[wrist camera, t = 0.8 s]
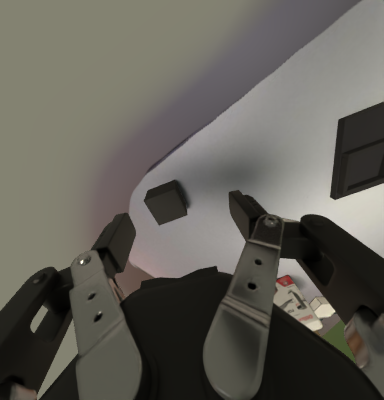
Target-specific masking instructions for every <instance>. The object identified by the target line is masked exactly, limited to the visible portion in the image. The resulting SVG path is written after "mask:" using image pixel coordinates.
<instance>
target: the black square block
mask: <svg viewBox="0 0 384 400" xmlns="http://www.w3.org/2000/svg"><path fill="white" fill-rule="evenodd" d="M144 202H145V204H146V205H147V207H148V209H149V210H150V212H151V213H152V215H153V217H154V218H155V220H156V221H157V223H158V224H159V225H162V224H164V223H167V222H170V221H173V220H175V219H178V218H181V217H183V216H186V215H187V207H186V202H185V200H184V198H183V196H182V194H181V192H180V190H179V188H178V185H177V183H176V181H175V180H173V181H171V182H168V183H166V184H163V185H161V186H158V187H156V188H153V189H151V190H148V191H147V194H146V196H145V199H144Z"/></svg>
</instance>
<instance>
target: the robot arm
mask: <svg viewBox="0 0 384 400" xmlns="http://www.w3.org/2000/svg"><path fill="white" fill-rule="evenodd" d="M229 208H230V214H231V216H232V218H233V220H234V222H235V223H236V225H237V227H238V229H239V230H240V232H241V234H242V236H243V237H244V239H245V241H246V244H245V246H244V249H243V251H242V254H241V257H240V259H239V262H238V264H237V267H236V270H235V272H234V275H232V274H228V273H224V272H218V270H217V266H214V267H209V268H204V269H199V270H196V271H194V272H192V273H190V274H188V275H185V276H183V277H181V278H161V277H160V278H155V279H150V280H145V281H142V282H141V287H140V289H138V290H136V291H135V292H133V293H131V294H130V295H129V296H128V297H126V298H125V296H124V294H123V292H122V290H121V288H120V286H119V284H118V282H117V280H116V279H115V274H116V273H121V272H123V271H124V268H125V265H126V262H127V259H128V257H129V254H130V251H131V248H132V245H133V242H134V239H135V236H136V230H135V227H134V225H133V223H132V221H131V219H130V217H129V215H128V213H123V214H118V215H116V216H115V217H114V219H113V221H112V222H110V223H109V224H108V225H107V226H106V227H105V228H104V230H103V232H102V233H101V234H100V236H99V238H98V239H97V241H96V242H95V244H94V245H93V247H92V248H91V250H89V251H86V252H84V253H82V254H81V255H79V256H78V257H77V258H76V259H75V260H74V261H73V262H72V264H71V266H70V267H68V268H66V269H63V270H61V271H59V272H58V271H57V270H56V269H55V268H54V267H47V268H44V269H42V270H40V271H38V272H37V273H35V274H34V275H32V276H31V277H30V278H29V279H28V280H27V281H26V282H25V284H23V285H22V287H21V288H20V289H19V290H18V291H17V292H16V294H15V295H14V296H13V297H12V298H11V300H10V301H9V302H8V303H7V304H6V305H5V307H4V308H3V309H2V310H1V311H0V400H37V394H38V392H39V389H40V387H41V385H42V383H43V381H44V379H45V377H46V374H47V372H48V370H49V368H50V366H51V364H52V362H53V359H54V357H55V355H56V353H57V351H58V349H59V347H60V344H61V342H62V340H63V338H64V336H65V334H66V332H67V329H68V327H69V325H70V323H71V321H72V319H73V321H74V327H75V333H76V340H77V347H78V354H77V355H76V356H75V358H74V359H73V360H72V361H71V362H70V363H69V365H68V366H67V367H66V368H65V369H64V371H63V372H62V373H61V374H60V375H59V377H58V378H57V379H56V380H55V381H54V383H53V384H52V385H51V386H50V387H49V388H48V389H47V391H46V392H45V393H44V394H43V395H42V397H41V398H40V399H39V400H384V258H382V257H381V256H379V255H378V254H377V253H375V252H374V251H373V250H371V249H370V248H368V247H367V246H366V245H364V244H363V243H361V242H360V241H359V240H357V239H356V238H354V237H353V236H352V235H350V234H349V233H348V232H346V231H345V230H343V229H342V228H341V227H339V226H338V225H336V224H335V223H334V222H332V221H331V220H329V219H328V218H326V217H323V216H320V215H314V214H309V215H304V216H302V217H301V220H300V222H284V220H283V219H282V218H281V217H279V216H276V215H272V214H268V213H267V212H266V211H265V209H264V208H263V207H262V206H261V205H259V203H258V202H256V200H255V199H254V198H253V197H251V196H249V195H243V194H242V193H241V192H240V191H239V190H236V191H231V192H229ZM280 258H287V259H296V261H297V262H298V263H299V265H300V266H301V267H302V268H303V270H304V271H305V272H306V274H307V275H308V276H309V278H310V279H311V280H312V282H313V283H314V284H315V285H316V287H317V288H318V289H319V291H320V292H321V293H322V295H323V296H324V297H325V299H326V300H327V301H328V302H329V304H330V305H331V306H332V308H333V309H334V310H335V312H336V313H337V314H338V316H339V317H340V318H341V319H342V321H343V322H344V323H345V325H346V327H345V329H344V336H345V340H346V342H347V344H348V346H349V347H350V349H351V351H352V353H353V355H354V357H355V361H356V364H355V363H354V362H353V361H352V360H351V359H350V358H349V357H347V356H346V355H345V354H344V353H342V352H341V351H340V350H338V349H337V348H336V347H334V346H333V345H331V344H330V343H329V342H327V341H326V340H325V339H323V338H322V337H320V336H319V335H318V334H316V333H315V332H314V331H312V330H311V329H309V328H308V327H307V326H305V325H304V324H302V323H301V322H300V321H298V320H297V319H296V318H294V317H293V316H291V315H290V314H289V313H287V312H286V311H284V310H283V309H282V308H280V307H279V306H278V305H276V304H275V303H273V300H274V293H275V286H276V280H277V273H278V266H279V259H280ZM42 305H43V306H44V307H46V308H47V309H48V312H47V313H46V315H45V317H44V318H43V320H42V322H41V323H40V325H39V326H38V328H37V330H36V331H35V333H33V332H32V331H31V329H30V325H31V322H32V320H33V318H34V316H35V315H36V314H37V312H38V311H39V309H40V308H41V306H42Z"/></svg>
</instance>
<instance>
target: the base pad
mask: <svg viewBox="0 0 384 400" xmlns="http://www.w3.org/2000/svg"><path fill="white" fill-rule="evenodd" d="M382 183H384V102H382V103H380V104H377V105H374V106H372V107H369V108H367V109H364V110H362V111H359V112H357V113H354V114H352V115H349V116H347V117H344V118H341V119H339V121H338V130H337V139H336V149H335V158H334V167H333V177H332V186H331V195H330V197H331V198H332V199H334V200H336V199H339V198H342V197H345V196H348V195H351V194H354V193H357V192H359V191H362V190H365V189H368V188H371V187H374V186H377V185H380V184H382Z"/></svg>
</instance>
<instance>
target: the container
mask: <svg viewBox="0 0 384 400" xmlns="http://www.w3.org/2000/svg"><path fill="white" fill-rule="evenodd" d="M309 305H310V307H311V308H312V310H313V311H314V313H315V314H316V316H317V317H318V318H326V317H330V316H331V315H332V314H333V313H334V314H337V313H336V312H335V310H334V309H333V308H332V306H331V305H330V304H329V302H328V301H327V300H326V299H325V297H315V298H314V299H313V300H312V301H311V303H310V304H309ZM319 320H320V321H322V320H323V319H319Z"/></svg>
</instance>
